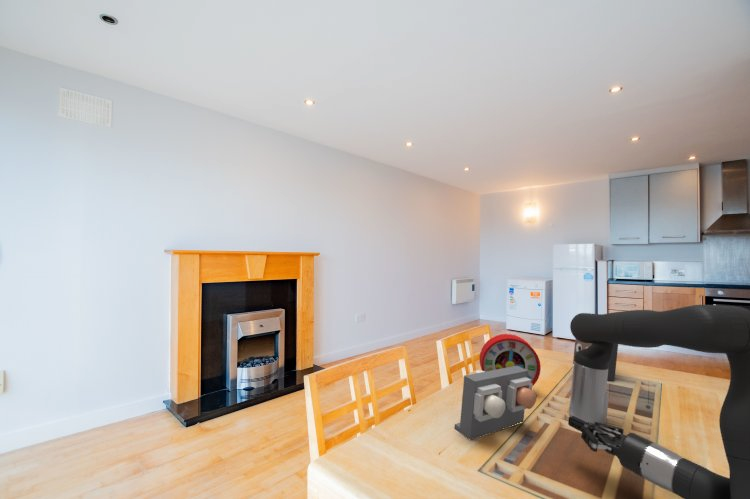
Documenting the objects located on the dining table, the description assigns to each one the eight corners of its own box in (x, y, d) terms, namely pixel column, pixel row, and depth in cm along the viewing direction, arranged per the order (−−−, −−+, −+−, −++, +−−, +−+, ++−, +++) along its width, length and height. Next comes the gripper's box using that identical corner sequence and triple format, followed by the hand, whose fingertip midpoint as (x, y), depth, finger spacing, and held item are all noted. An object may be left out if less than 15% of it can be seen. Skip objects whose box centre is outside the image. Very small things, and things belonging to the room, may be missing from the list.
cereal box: (572, 365, 158) (577, 313, 157) (581, 365, 159) (586, 314, 158) (604, 381, 141) (610, 323, 140) (614, 381, 142) (620, 324, 141)
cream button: (478, 411, 92) (479, 393, 92) (491, 408, 95) (492, 390, 95) (491, 419, 89) (493, 401, 88) (504, 416, 91) (506, 397, 91)
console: (506, 413, 108) (511, 363, 107) (529, 426, 101) (534, 373, 101) (454, 428, 97) (459, 372, 97) (475, 444, 90) (480, 384, 90)
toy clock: (479, 389, 124) (483, 335, 123) (477, 382, 130) (481, 330, 129) (537, 398, 121) (543, 342, 120) (533, 391, 126) (538, 337, 126)
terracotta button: (510, 402, 99) (512, 386, 99) (521, 399, 101) (523, 383, 101) (524, 410, 95) (525, 392, 95) (535, 407, 98) (537, 389, 97)
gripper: (668, 437, 75) (586, 400, 90) (638, 452, 68) (555, 410, 83) (664, 470, 75) (583, 428, 90) (634, 488, 68) (552, 440, 83)
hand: (570, 420), depth 86 cm, fingers closed
